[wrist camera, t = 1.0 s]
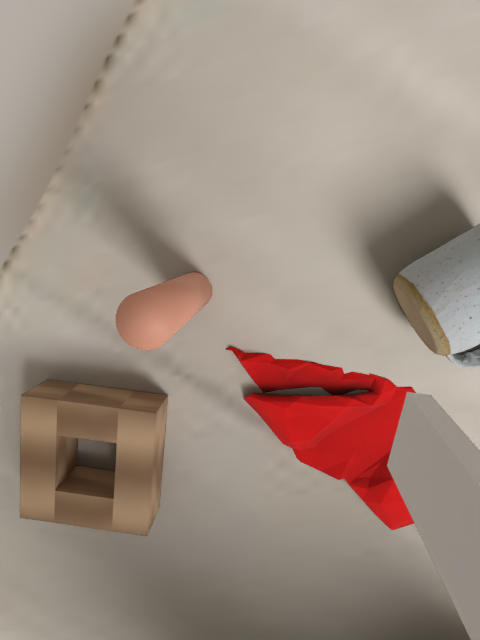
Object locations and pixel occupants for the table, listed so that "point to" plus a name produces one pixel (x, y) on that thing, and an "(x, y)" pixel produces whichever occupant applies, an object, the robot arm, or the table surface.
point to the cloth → (335, 425)
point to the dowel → (161, 310)
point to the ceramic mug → (445, 298)
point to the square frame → (85, 482)
